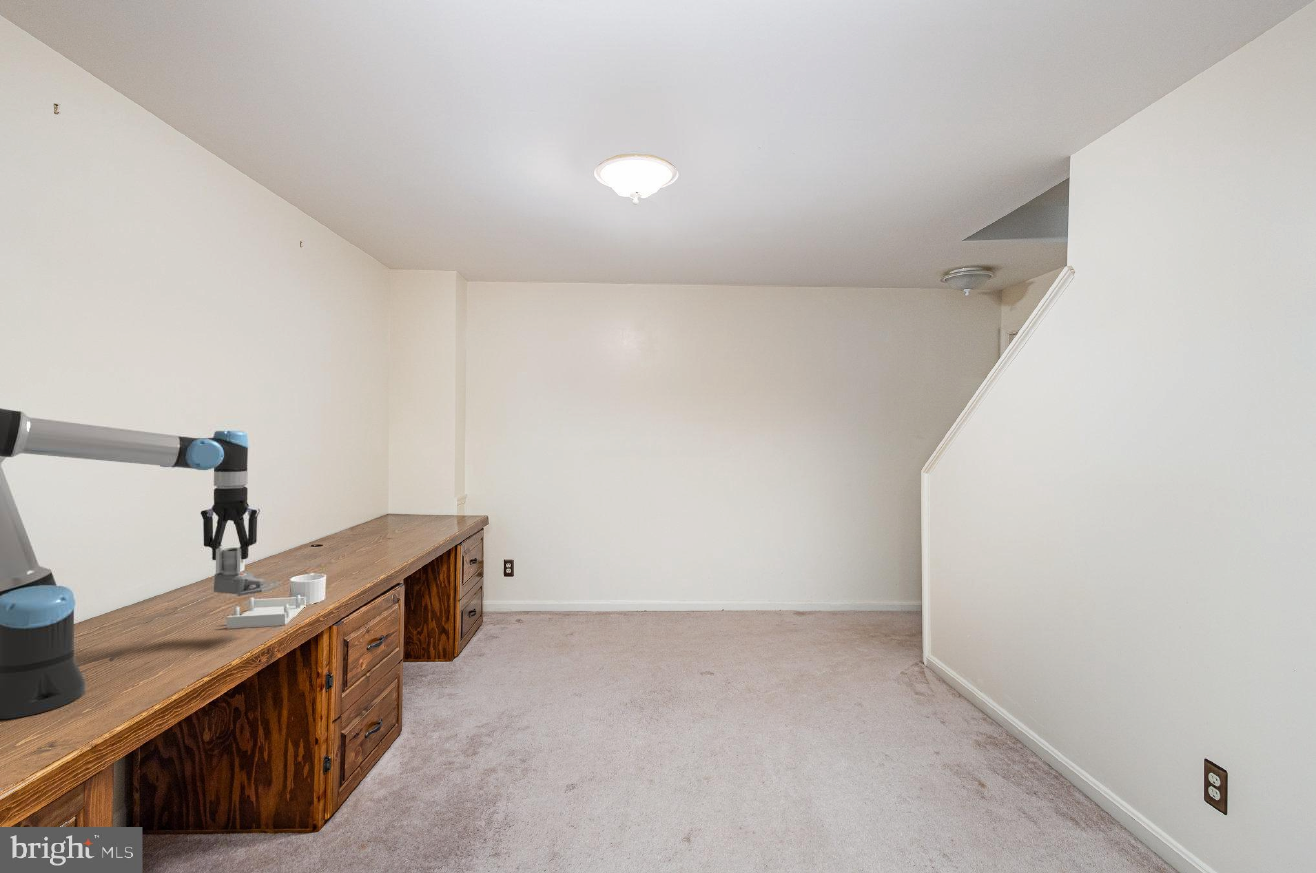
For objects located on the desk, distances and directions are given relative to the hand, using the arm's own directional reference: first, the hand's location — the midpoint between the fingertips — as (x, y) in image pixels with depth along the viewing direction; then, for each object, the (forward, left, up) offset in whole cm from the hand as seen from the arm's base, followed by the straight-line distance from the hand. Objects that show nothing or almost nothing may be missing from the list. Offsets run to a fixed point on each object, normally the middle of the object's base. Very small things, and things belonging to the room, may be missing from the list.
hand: (230, 571), depth 162 cm
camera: (+1, -3, -6) cm, 7 cm away
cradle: (+18, -3, -19) cm, 26 cm away
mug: (+35, -9, -19) cm, 41 cm away
